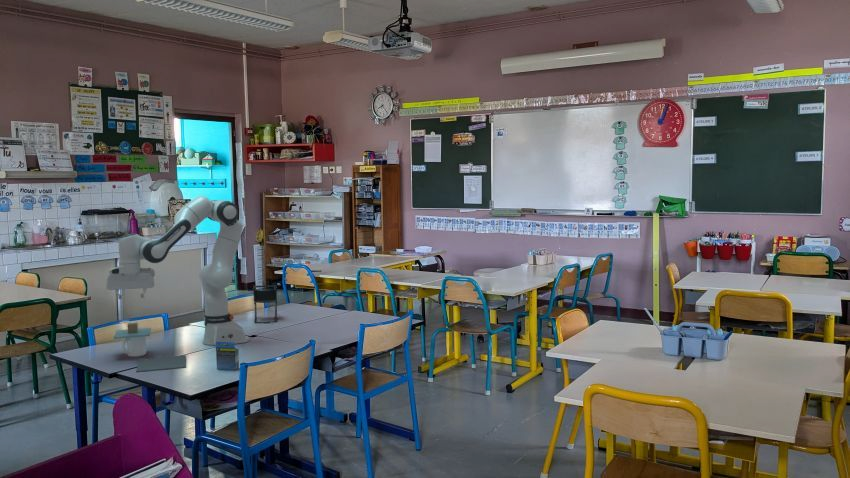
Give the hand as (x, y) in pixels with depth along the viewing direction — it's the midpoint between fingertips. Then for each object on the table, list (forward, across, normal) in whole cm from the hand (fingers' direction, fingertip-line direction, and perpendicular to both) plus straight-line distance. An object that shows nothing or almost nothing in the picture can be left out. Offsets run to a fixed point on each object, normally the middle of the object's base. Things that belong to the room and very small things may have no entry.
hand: (131, 298), depth 305 cm
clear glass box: (+28, -67, -59) cm, 93 cm away
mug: (+27, 0, 0) cm, 27 cm away
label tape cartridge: (+27, -40, +38) cm, 62 cm away
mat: (+27, -13, +20) cm, 36 cm away
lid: (+17, 0, 0) cm, 17 cm away
